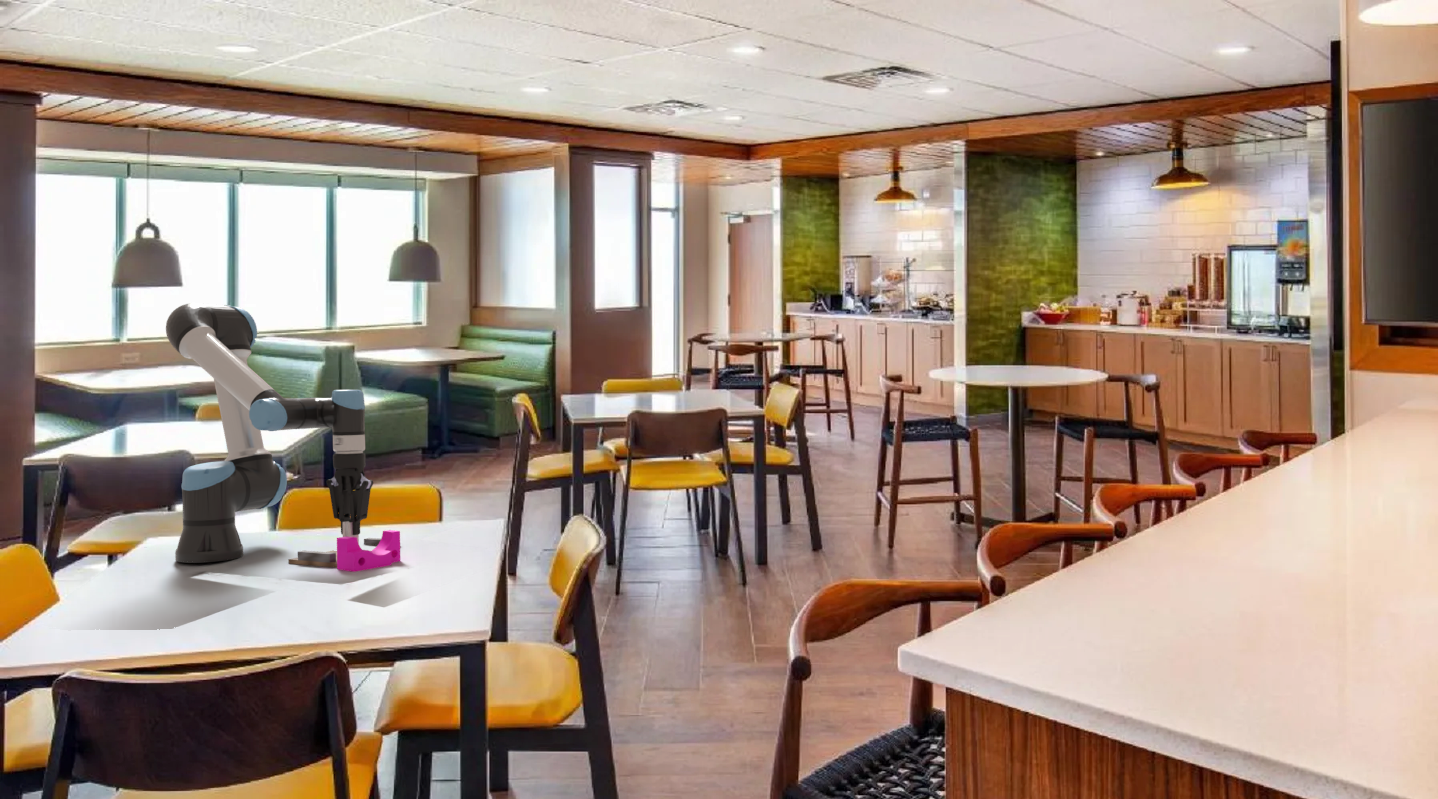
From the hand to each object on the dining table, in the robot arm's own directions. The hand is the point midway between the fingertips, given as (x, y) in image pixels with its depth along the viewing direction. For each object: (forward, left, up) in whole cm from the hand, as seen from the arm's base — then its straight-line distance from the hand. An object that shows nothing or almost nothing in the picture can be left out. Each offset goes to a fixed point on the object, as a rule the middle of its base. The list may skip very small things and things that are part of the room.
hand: (350, 547), depth 262 cm
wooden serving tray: (0, 0, -2) cm, 2 cm away
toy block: (+13, -7, -3) cm, 15 cm away
